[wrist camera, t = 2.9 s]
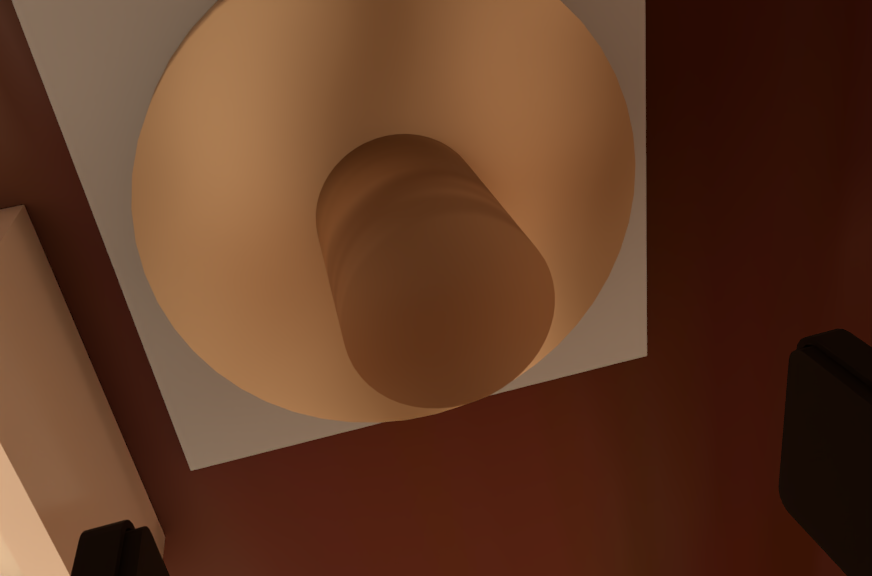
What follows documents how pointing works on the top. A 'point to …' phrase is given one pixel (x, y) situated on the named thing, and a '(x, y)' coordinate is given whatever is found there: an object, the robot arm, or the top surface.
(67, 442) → the small beige box
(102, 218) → the mat
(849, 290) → the top surface
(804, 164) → the top surface
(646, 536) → the top surface
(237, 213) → the lid
